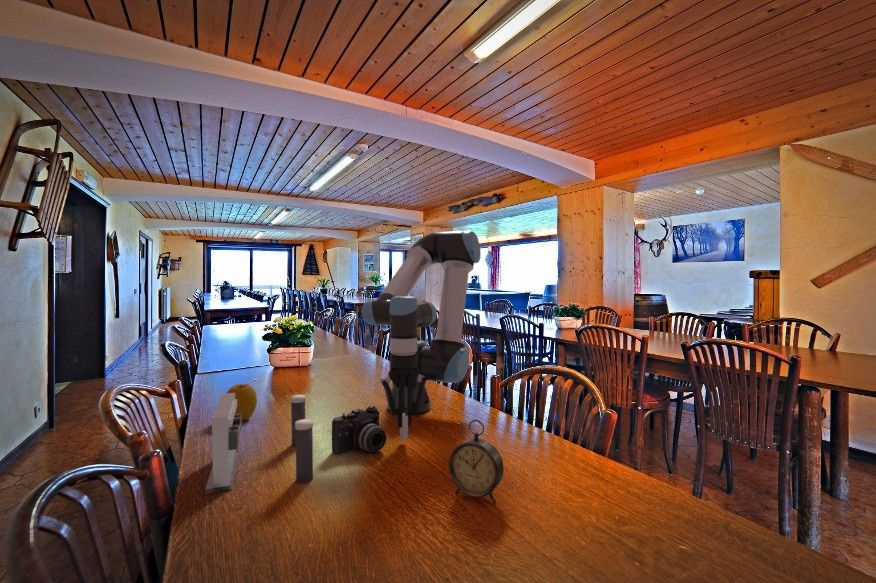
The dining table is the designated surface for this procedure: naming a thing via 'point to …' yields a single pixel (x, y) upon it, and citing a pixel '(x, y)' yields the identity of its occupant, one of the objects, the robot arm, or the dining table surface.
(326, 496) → the dining table surface
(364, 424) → the camera
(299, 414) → the post
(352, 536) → the dining table surface
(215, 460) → the breaker panel
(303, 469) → the post
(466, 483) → the alarm clock
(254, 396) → the yellow-brown oval body
